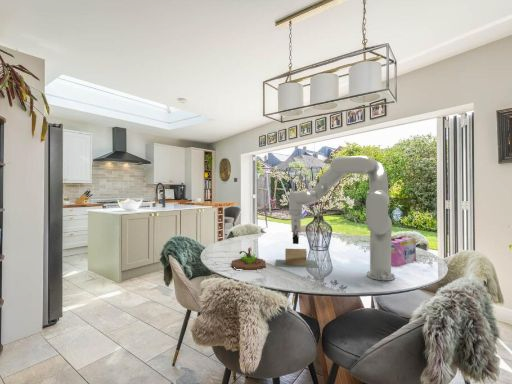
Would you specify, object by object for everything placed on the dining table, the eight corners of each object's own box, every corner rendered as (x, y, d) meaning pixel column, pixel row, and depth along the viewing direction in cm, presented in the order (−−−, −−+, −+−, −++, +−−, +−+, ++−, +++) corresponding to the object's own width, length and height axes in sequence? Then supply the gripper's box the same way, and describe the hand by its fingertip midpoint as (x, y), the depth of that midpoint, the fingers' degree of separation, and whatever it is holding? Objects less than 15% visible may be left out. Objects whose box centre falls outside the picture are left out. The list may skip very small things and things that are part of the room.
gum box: (404, 257, 171) (404, 235, 171) (417, 260, 165) (417, 237, 164) (382, 263, 158) (382, 240, 157) (396, 267, 151) (396, 242, 151)
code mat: (318, 268, 150) (318, 267, 150) (274, 266, 153) (274, 266, 153) (315, 260, 165) (315, 260, 165) (275, 259, 168) (275, 259, 168)
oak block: (306, 264, 156) (306, 250, 155) (285, 264, 157) (285, 250, 157) (306, 262, 160) (306, 249, 160) (285, 262, 162) (285, 248, 162)
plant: (234, 273, 144) (234, 251, 144) (229, 263, 163) (229, 244, 163) (270, 269, 149) (270, 249, 149) (261, 260, 168) (261, 242, 168)
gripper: (302, 214, 149) (302, 245, 150) (301, 211, 166) (301, 239, 167) (288, 214, 150) (288, 245, 151) (289, 211, 167) (289, 239, 168)
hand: (295, 242), depth 159 cm, fingers open, 9 cm apart
